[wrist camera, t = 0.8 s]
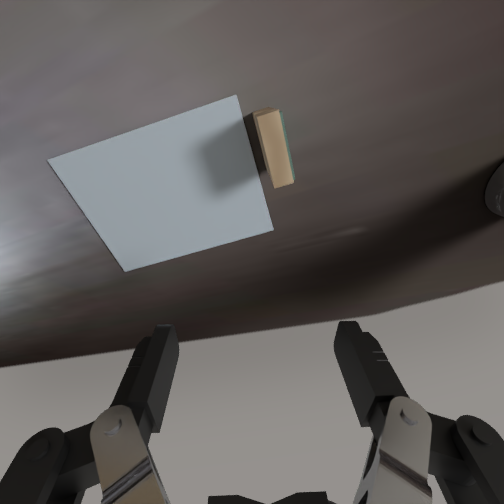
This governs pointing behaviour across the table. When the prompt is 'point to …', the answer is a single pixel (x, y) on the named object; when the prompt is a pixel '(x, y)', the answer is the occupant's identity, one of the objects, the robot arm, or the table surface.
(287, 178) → the tile
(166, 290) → the table surface
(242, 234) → the mat
